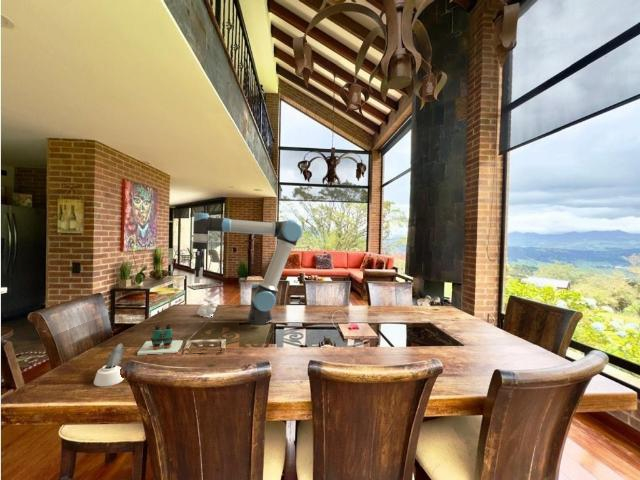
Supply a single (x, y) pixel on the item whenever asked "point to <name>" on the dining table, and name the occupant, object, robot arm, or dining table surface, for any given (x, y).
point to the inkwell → (110, 369)
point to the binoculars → (158, 336)
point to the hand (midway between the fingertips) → (198, 281)
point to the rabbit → (207, 308)
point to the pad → (148, 348)
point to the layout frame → (223, 341)
